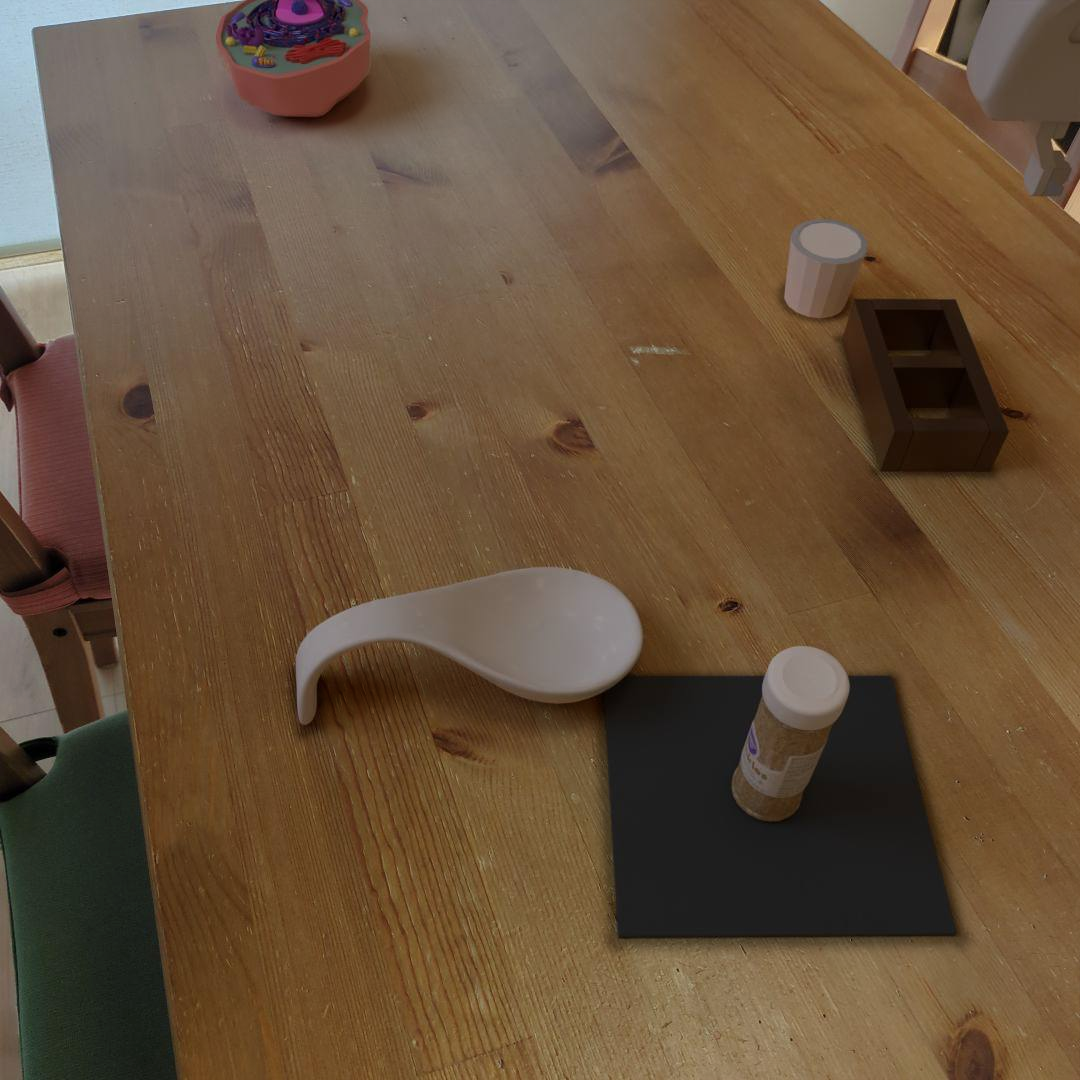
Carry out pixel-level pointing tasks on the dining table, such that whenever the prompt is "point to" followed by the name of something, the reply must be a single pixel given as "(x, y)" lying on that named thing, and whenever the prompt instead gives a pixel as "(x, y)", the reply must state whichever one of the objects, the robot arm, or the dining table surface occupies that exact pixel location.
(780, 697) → the sprinkles bottle
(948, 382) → the bottle rack
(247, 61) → the cell model
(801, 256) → the white short cylinder
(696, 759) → the mat
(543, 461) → the dining table surface
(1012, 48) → the robot arm
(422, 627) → the spoon rest
